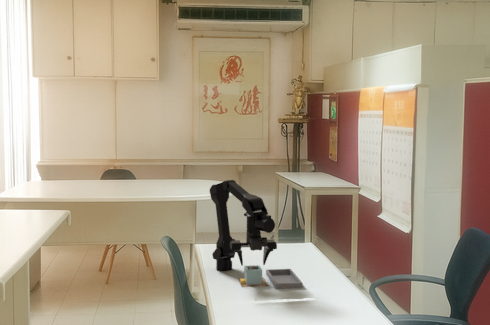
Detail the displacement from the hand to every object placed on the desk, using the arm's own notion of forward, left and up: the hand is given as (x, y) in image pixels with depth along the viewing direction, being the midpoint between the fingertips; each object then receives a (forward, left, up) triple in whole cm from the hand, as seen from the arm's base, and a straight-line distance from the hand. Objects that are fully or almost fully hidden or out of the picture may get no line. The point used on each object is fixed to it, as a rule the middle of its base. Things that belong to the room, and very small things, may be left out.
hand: (252, 265), depth 205 cm
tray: (+13, 0, -8) cm, 15 cm away
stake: (0, 0, -8) cm, 8 cm away
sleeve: (0, 0, -7) cm, 7 cm away
